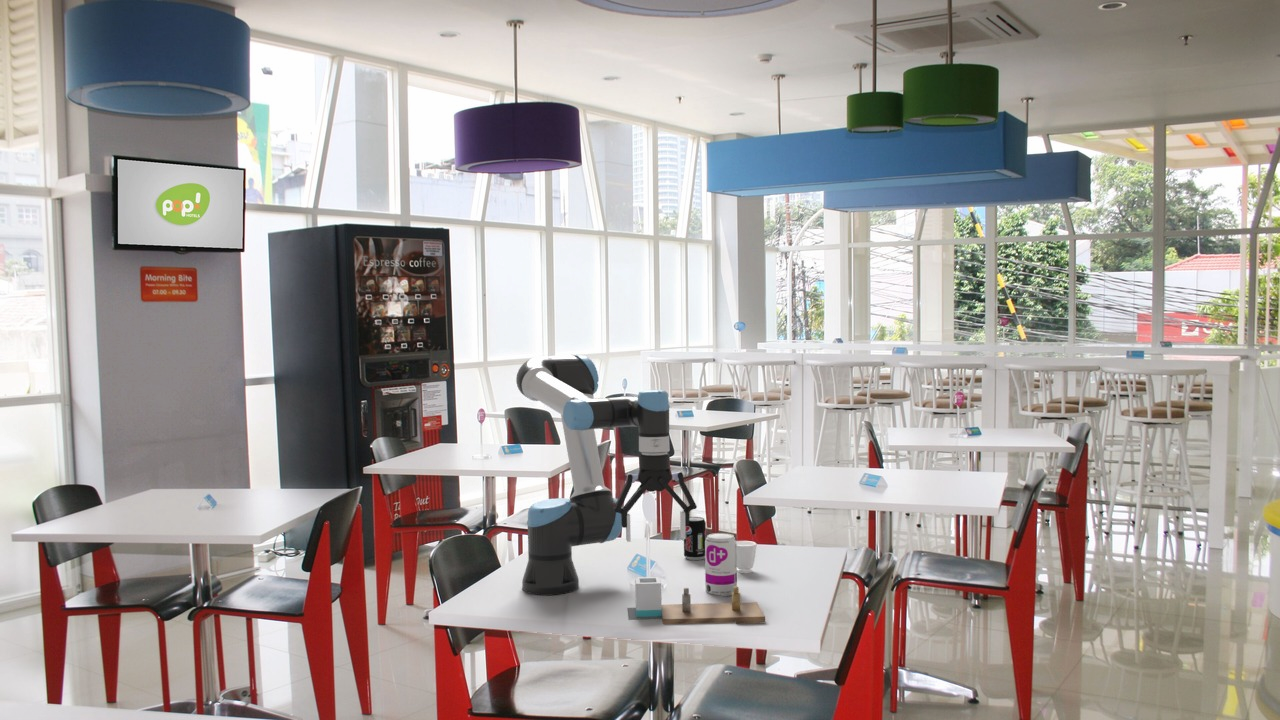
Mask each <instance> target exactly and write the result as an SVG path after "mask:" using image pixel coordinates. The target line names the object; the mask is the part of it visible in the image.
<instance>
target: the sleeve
mask: <svg viewBox="0 0 1280 720" xmlns="http://www.w3.org/2000/svg"><path fill="white" fill-rule="evenodd" d="M634 580H635V581H634V582H635V585H634V587H635V590H634V591H635V593H634V594H635V608H636V616H637V617H656V616H662V605H663V604H662V581H661V580H662V579H661V577H660V576H650V577H649V576H647V577H646V576H643V577H642V576H640V577H638V576H637V577H635V578H634Z"/></svg>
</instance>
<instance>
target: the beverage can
mask: <svg viewBox="0 0 1280 720" xmlns="http://www.w3.org/2000/svg"><path fill="white" fill-rule="evenodd" d="M685 532H686V539H683V556H684V557H685V559H686V560H690V561H701V560H705V540H706V538H707V523H706V520H705V517H701V516H689V525H685Z"/></svg>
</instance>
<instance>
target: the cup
mask: <svg viewBox="0 0 1280 720" xmlns="http://www.w3.org/2000/svg"><path fill="white" fill-rule="evenodd" d="M757 545H758V544H757V543H756V542H755V541H750V540H736V553H737V574H738V573H740V574H751V573H753V570H752V569H753V568H754V564H755V558H756V551H757Z"/></svg>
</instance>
